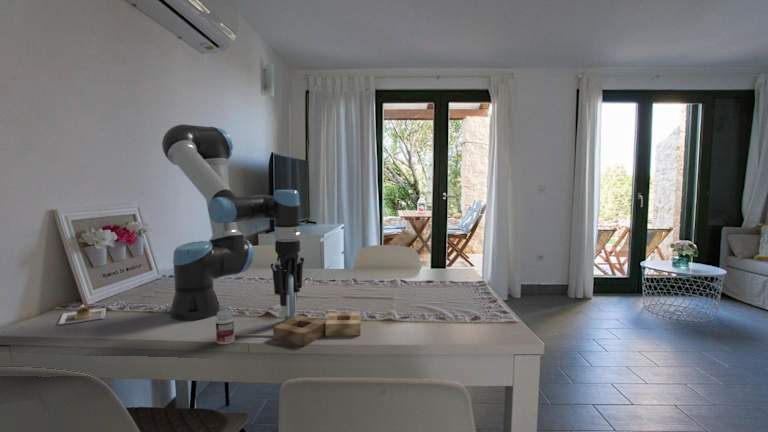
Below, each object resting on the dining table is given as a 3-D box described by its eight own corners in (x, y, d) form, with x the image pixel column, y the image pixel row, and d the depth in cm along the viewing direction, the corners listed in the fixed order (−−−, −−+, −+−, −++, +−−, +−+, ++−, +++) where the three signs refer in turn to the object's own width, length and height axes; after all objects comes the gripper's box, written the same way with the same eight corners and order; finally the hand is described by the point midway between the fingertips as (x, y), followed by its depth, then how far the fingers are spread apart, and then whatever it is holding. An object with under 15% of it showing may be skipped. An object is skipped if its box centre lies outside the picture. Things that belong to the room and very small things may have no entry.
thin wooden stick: (220, 336, 123) (220, 334, 123) (222, 335, 124) (221, 333, 124) (277, 337, 123) (277, 335, 123) (278, 336, 123) (278, 334, 123)
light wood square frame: (325, 335, 124) (325, 323, 123) (328, 323, 134) (328, 312, 133) (360, 335, 124) (360, 323, 124) (360, 323, 134) (360, 312, 134)
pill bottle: (219, 338, 122) (218, 309, 121) (236, 338, 122) (235, 309, 121) (214, 345, 117) (213, 315, 116) (232, 344, 117) (231, 314, 116)
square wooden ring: (273, 338, 121) (273, 326, 121) (298, 326, 131) (297, 315, 131) (304, 346, 116) (304, 333, 116) (328, 332, 126) (328, 321, 126)
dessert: (104, 320, 138) (103, 306, 137) (58, 327, 131) (56, 312, 131) (106, 310, 148) (105, 297, 147) (63, 316, 142) (61, 302, 141)
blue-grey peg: (282, 322, 135) (281, 273, 134) (288, 319, 138) (287, 271, 136) (289, 323, 134) (288, 274, 132) (296, 320, 136) (295, 272, 135)
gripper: (279, 244, 124) (281, 323, 127) (312, 237, 138) (313, 308, 141) (260, 242, 128) (262, 319, 130) (294, 235, 142) (295, 305, 144)
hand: (289, 313), depth 135 cm, fingers closed on blue-grey peg, 3 cm apart
